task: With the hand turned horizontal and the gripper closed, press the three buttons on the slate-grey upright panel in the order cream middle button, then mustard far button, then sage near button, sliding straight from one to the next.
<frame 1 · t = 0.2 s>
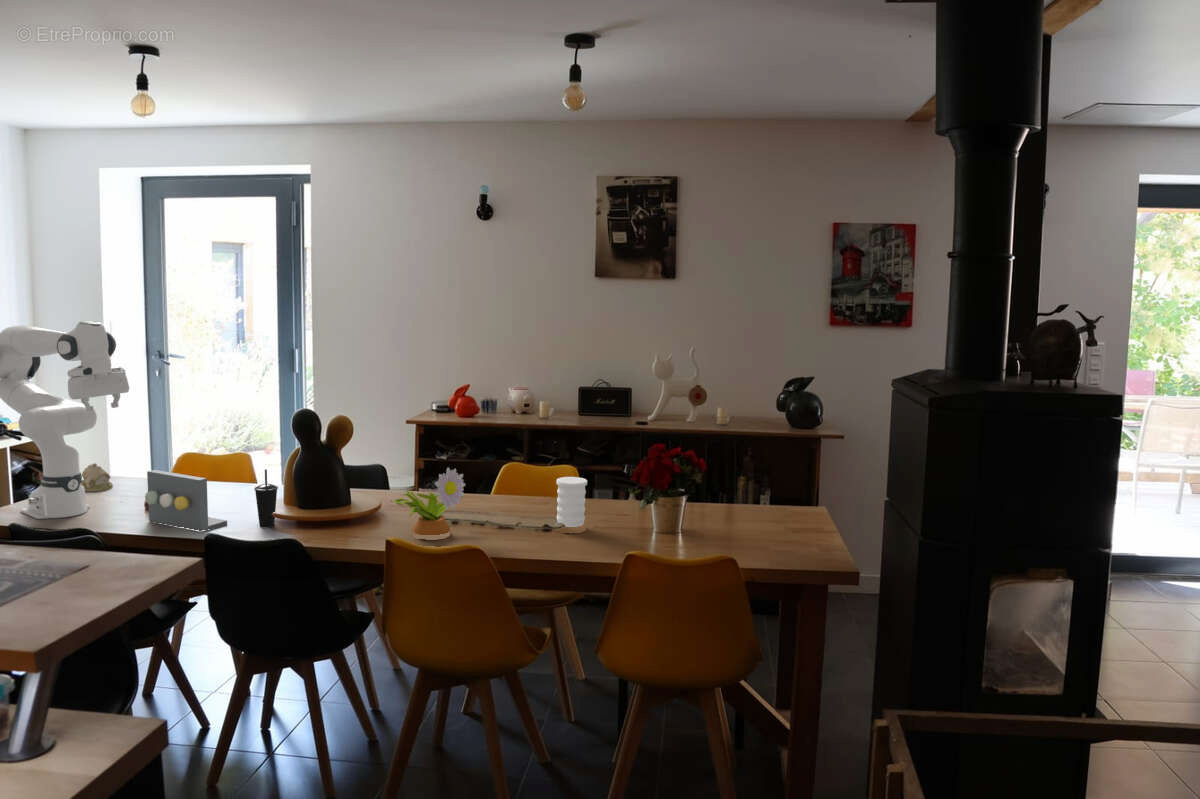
hand: (102, 409, 298), 39 cm above the table, tool pointing down, fingers open, 8 cm apart
ceramic model: (95, 488, 350), on the table
button mustard: (181, 503, 293), point 10 cm above the table, slide at 0.0 cm
button panel: (178, 526, 301), on the table
drinking cup: (266, 526, 305), on the table
button sage: (152, 497, 299), point 10 cm above the table, slide at 0.0 cm
decorative container: (570, 530, 312), on the table
button cream: (166, 500, 296), point 10 cm above the table, slide at 0.0 cm
decorative plant: (431, 534, 302), on the table
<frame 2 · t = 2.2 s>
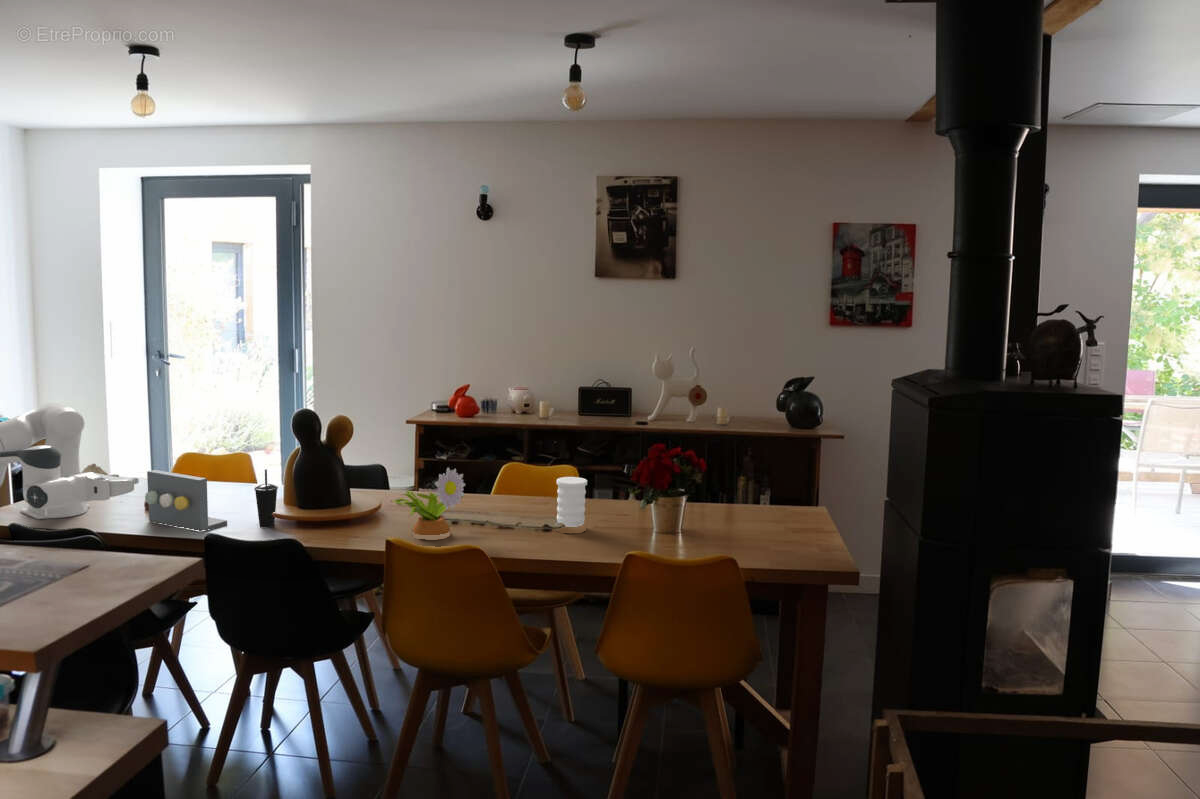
hand: (127, 478, 282), 20 cm above the table, tool horizontal, fingers open, 8 cm apart
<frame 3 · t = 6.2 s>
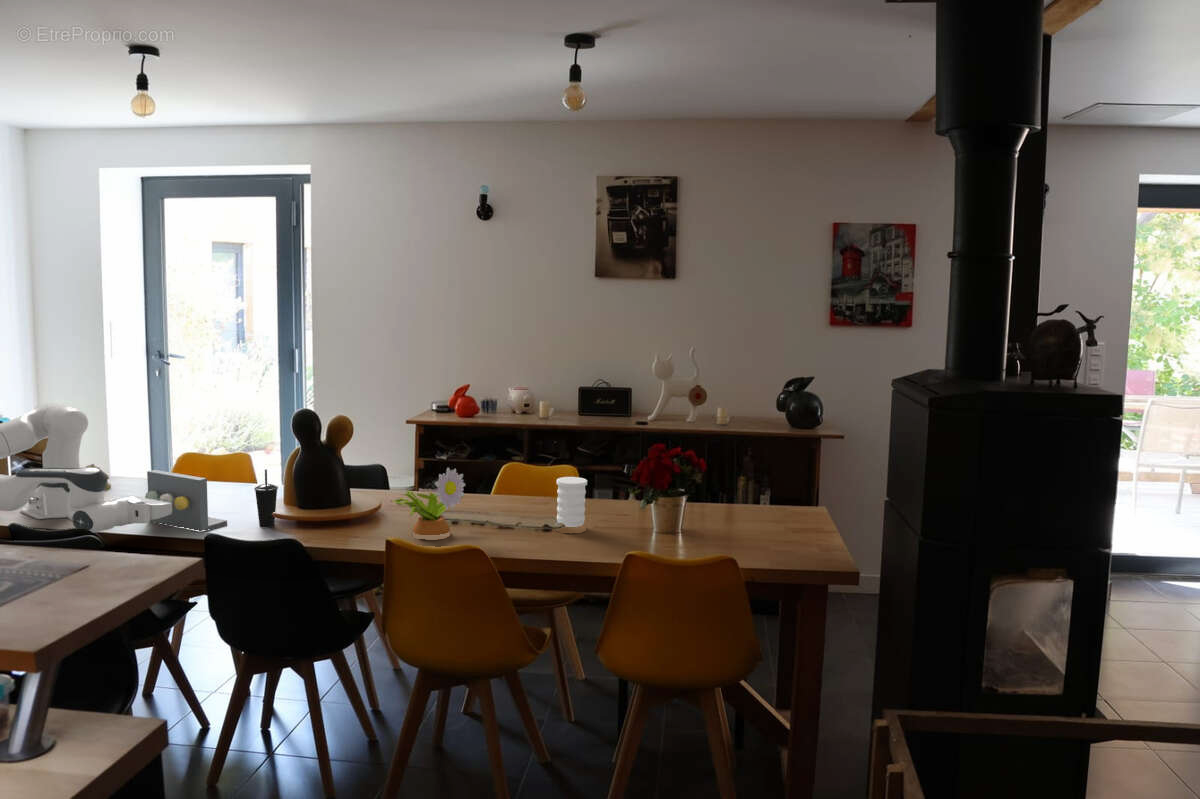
hand: (164, 501, 295), 10 cm above the table, tool horizontal, fingers closed, pressing on button cream
button cream: (166, 500, 296), point 10 cm above the table, slide at 0.0 cm, touching gripper
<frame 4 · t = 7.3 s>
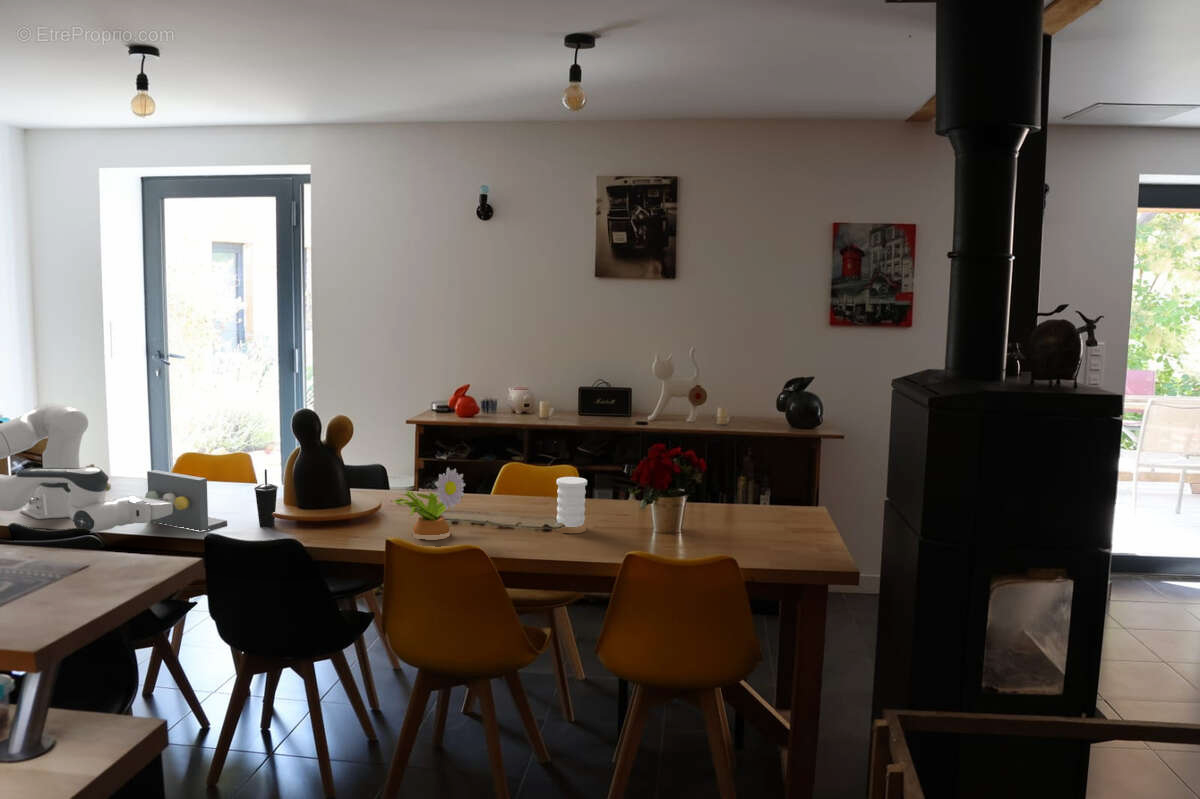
hand: (165, 500, 295), 10 cm above the table, tool horizontal, fingers closed
button cream: (169, 499, 297), point 10 cm above the table, slide at 1.1 cm
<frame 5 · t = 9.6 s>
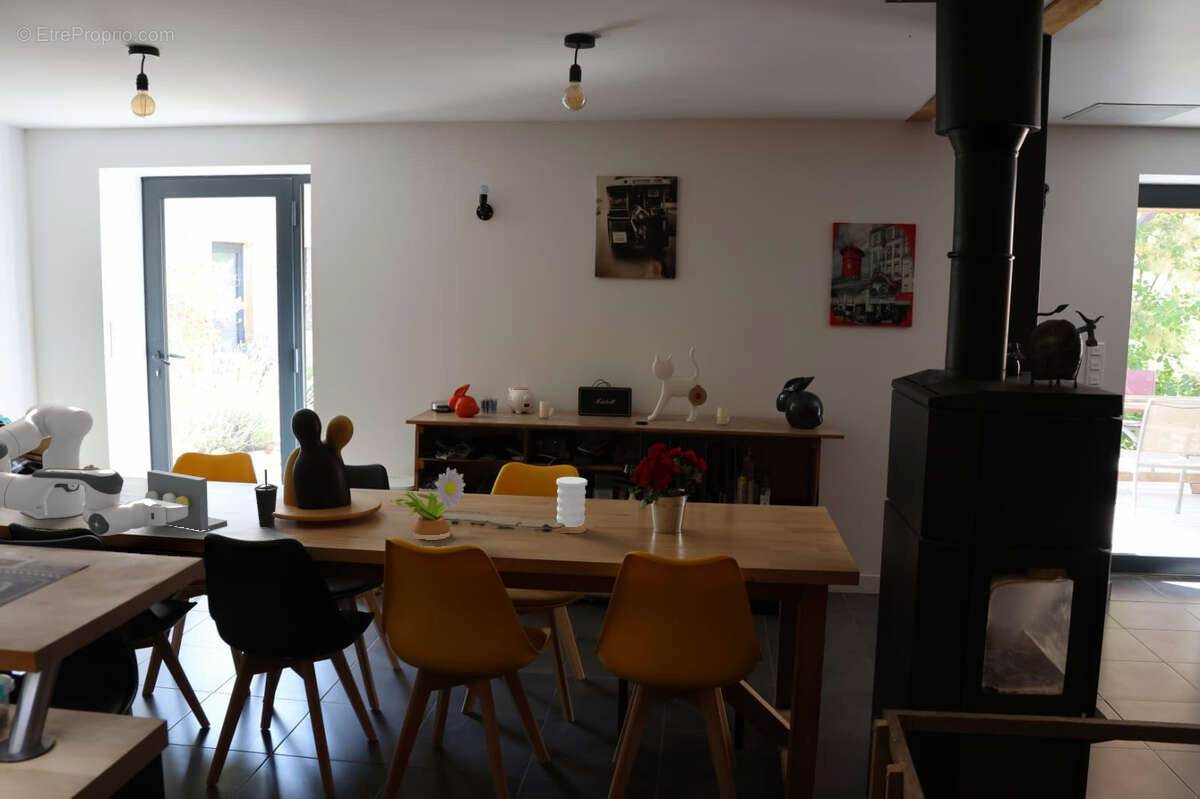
hand: (179, 503, 292), 10 cm above the table, tool horizontal, fingers closed, pressing on button mustard
button mustard: (182, 502, 293), point 10 cm above the table, slide at 0.3 cm, touching gripper
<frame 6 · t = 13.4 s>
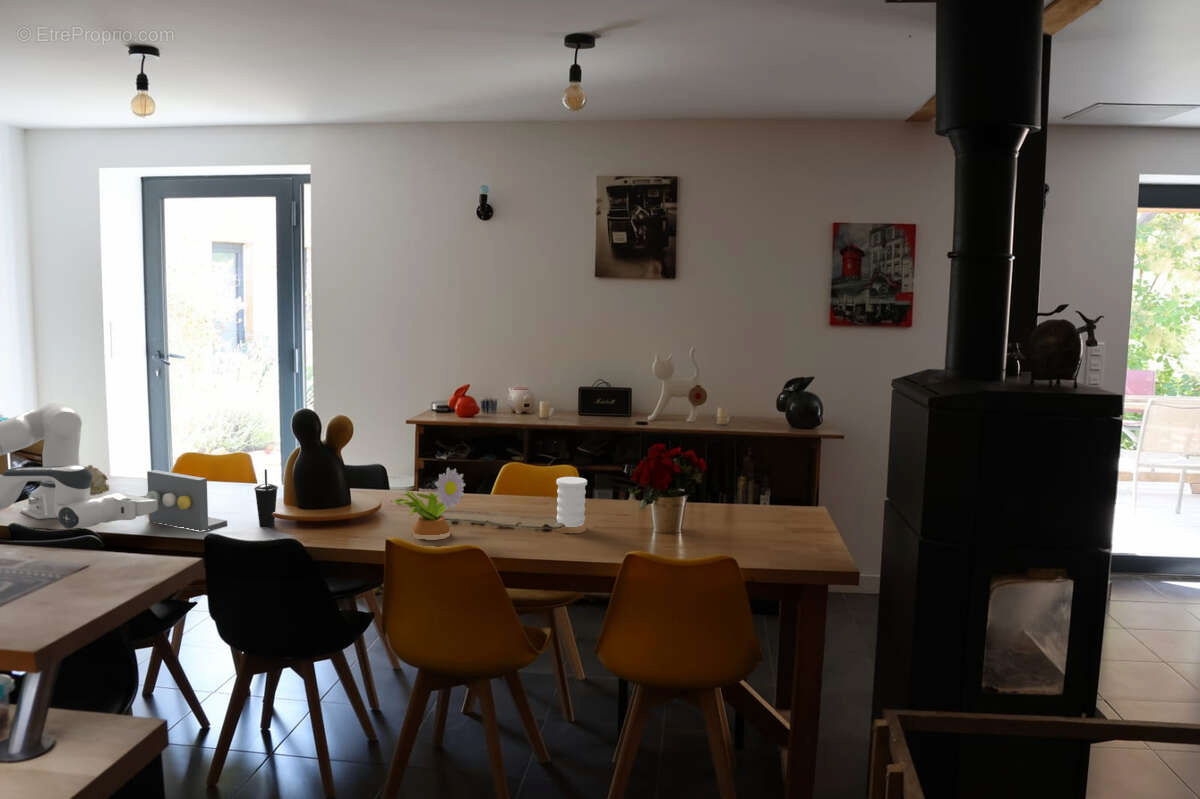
hand: (150, 498, 298), 10 cm above the table, tool horizontal, fingers closed, pressing on button sage
button mustard: (184, 502, 294), point 10 cm above the table, slide at 1.1 cm
button sage: (153, 497, 299), point 10 cm above the table, slide at 0.4 cm, touching gripper
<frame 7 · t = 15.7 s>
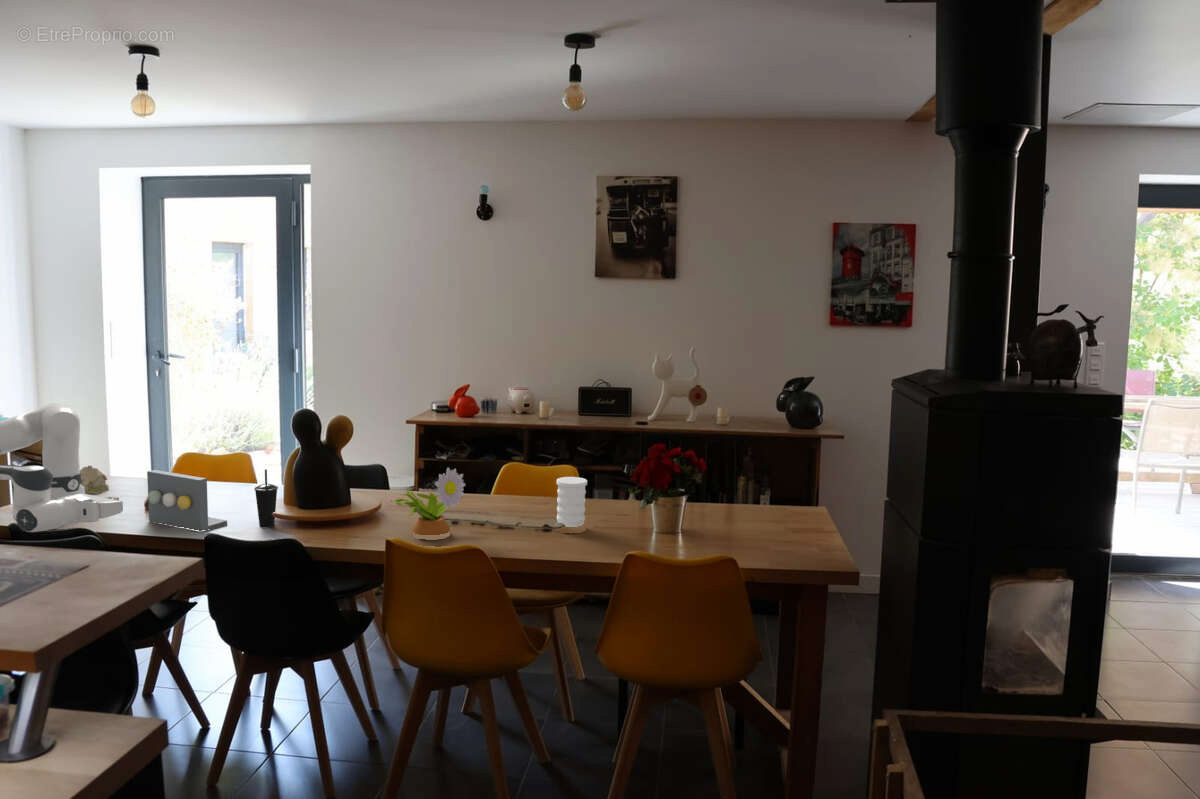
hand: (116, 499, 286), 13 cm above the table, tool horizontal, fingers closed
button sage: (155, 497, 300), point 10 cm above the table, slide at 1.1 cm
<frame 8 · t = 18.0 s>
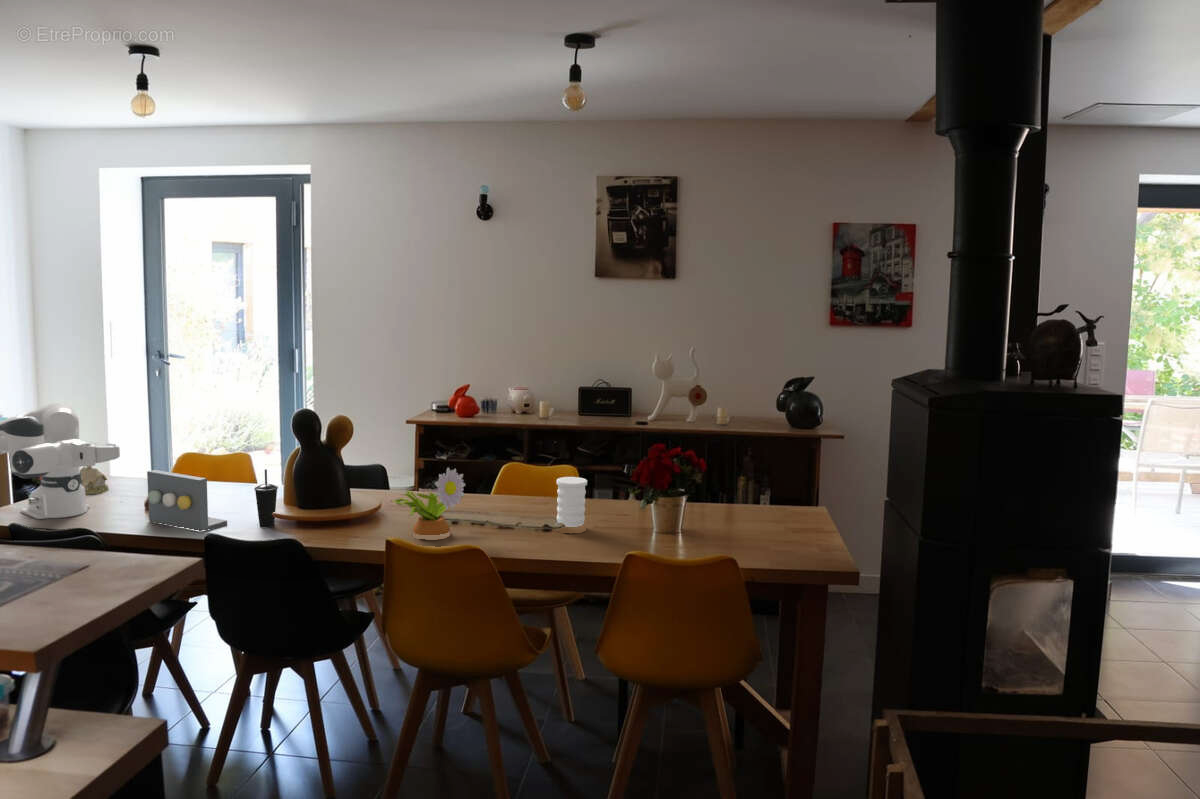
hand: (113, 446, 284), 30 cm above the table, tool horizontal, fingers closed
at the end: button cream slide at 1.1 cm; button mustard slide at 1.1 cm; button sage slide at 1.1 cm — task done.
